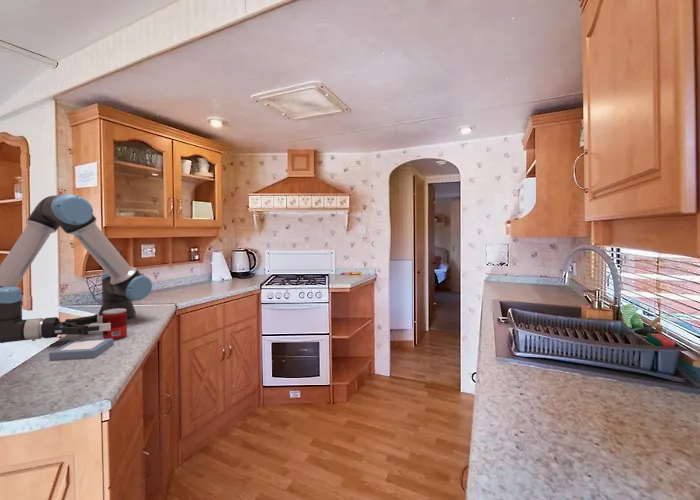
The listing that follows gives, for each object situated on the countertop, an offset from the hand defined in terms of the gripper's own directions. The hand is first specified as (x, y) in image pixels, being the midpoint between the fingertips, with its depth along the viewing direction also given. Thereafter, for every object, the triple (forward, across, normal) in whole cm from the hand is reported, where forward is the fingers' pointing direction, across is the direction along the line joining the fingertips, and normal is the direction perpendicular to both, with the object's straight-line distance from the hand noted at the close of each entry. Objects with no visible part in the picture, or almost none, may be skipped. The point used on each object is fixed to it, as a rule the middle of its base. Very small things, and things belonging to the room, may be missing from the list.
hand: (113, 322), depth 130 cm
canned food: (0, 0, -7) cm, 7 cm away
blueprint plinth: (-7, +14, -6) cm, 17 cm away
